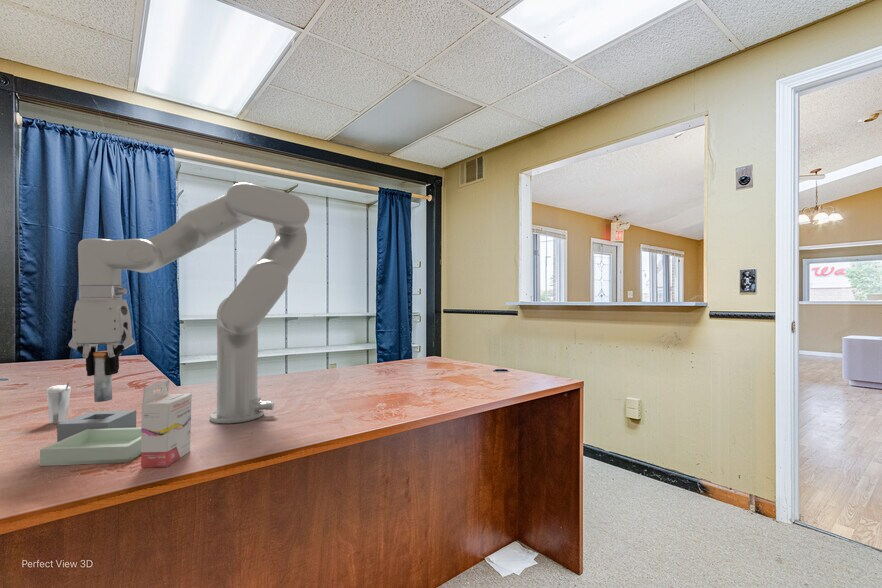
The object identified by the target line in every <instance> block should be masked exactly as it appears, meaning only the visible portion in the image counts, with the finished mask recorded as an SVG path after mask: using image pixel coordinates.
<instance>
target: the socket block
mask: <svg viewBox="0 0 882 588" xmlns="http://www.w3.org/2000/svg"><path fill="white" fill-rule="evenodd" d="M56 426H57V427H56V429H57V430H56V431H57V433H56V434H57V435H56V436H57V437H56V440H57V441H56V442H59V441H61V440H63V439H66V438H68V437H70V436H73V435H75V434H77V433H79V432H82V431H84V430H86V429H108V428H137V410H136V409H127V410H124V409H122V410H95V411H93V410H92V411H91V410H90V411H89V412H88V411H87V412H85V413H83V414H80V415H77V416H75V417H72V418H69V419H67V421H64V422H61V423H58V424H57V425H56Z"/></svg>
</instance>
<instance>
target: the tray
mask: <svg viewBox="0 0 882 588" xmlns="http://www.w3.org/2000/svg"><path fill="white" fill-rule="evenodd" d="M141 427H142V426H139V427H135V428H108V429H86V430H84V431H82V432H79V433H77V434H75V435H73V436H70V437H68V438H66V439H63V440H61V441H59V442H57V441H56V442H55V443H52V444H50V445H48V446H45V447H43V448H40V449H39V467H42V466H44V467H46V466H47V467H48V466H68V465H69V466H70V465H71V466H73V465H74V466H75V465H94V464H95V465H96V464H117V463H119V464H122V463H124V464H125V463H129V462H131V461H133V460H134V459H135V458H137V457H139V456H141Z"/></svg>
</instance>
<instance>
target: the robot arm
mask: <svg viewBox="0 0 882 588" xmlns="http://www.w3.org/2000/svg"><path fill="white" fill-rule="evenodd" d="M309 218H310V209H309V206H308V203H307V202H306V201H305V200H304V199H303V198H301V197H300V196H297V195H295V194H293V193H292V194H291V193H289V192H284V191H280V190H277V189H272V188H269V187H267V186H266V187H265V186H262V185H257V184H254V183H249V182H238V183H235V184H233V185H232V186H231V187H230V188H228V190H227V192H226V193H225V194H223V195H221V196H219V197H216V198H214V199H213V200H210V201H208V202H207V203H204V204H202V205H200V206H197V207H196V208H193V209H190V210H189V211H187V212H185V213H184V214H183V215H182V216H181V217H180V218H179V220H178V221H176V222H175V223H174V224H173V225H172V226H170V227H168V228H167V229H165V230H163V231H162V232H160V233H157V234H156V235H154V236H152V237H150V238H148V239H144V238H129V239H127V238H125V239H115V240H114V239H107V238H83V239H82V240H80V241H79V242H78V245H77V258H78V261H77V262H78V295H79V296H78V297H79V298H78V299H79V300H76V302H75V304H74V311H73V316H72V317H73V318H72V330H71V331H72V337H71V339H70V340H69V342H68V345H67V346H68V347H69V348H72V349H73V350H75V351H77V352H78V353H80V354H81V355H82V358H83V359H85V370H86V375H87V377H92V376H93V377H94V365H93V352H98V345H104V344H105V345H106V351H108V358H106V359H105V361H106V375H112V376H113V375H115V374H118V373H119V369H120V356H121V355H122V354H123V352H124V351H125V350H127V348H129V347H132V346H134V345H135V344H136V341H135V339H134V337H133V330H132V320H131V314H130V309H129V305H128V302H127V299H125V298H124V299H123V295H127V294H128V289H127V288H125V287H124V288H123V285H122V270H126V271H127V270H128V271H133V272H137V273H142V274H147V273H153V272H155V271H157V270H159V269H161V268H163V267H165V266H166V265H168V264H171V263H173V262H175V261H176V260H178V259H180V258H183V257H184V256H186V255H187V254H189V253H191V252H192V251H195V250H197V249H199V248H202V247H204V246H206V245H207V244H208V243H211V242H212V241H214V240H216V239H217V238H220V237H222V236H223V235H226V234H227V233H229V232H231V231H233V230H235V229H237V228H239V227H242V226H243V225H245V224H247V223H249V222H251V221H253V220H254V219H255V220H258V221H262V222H263V221H264V222H266V223H271V224H272V226H273V227H274V230H275V237H274V239H273V240H272V242H271V243H270V244H269V246H268V247H267V249H266V250H265V251H264V252H263V254H262V255H261V256H260V258H259V259H258V260H257V261H256V262H255V263H254V264H253V265H251V266H250V268H248V270H247V272H246V274H245V276H243V278H242V280H240V282H239V283H237V286H236V287H235V288H234V289H233V290H232V292H231V293H230V294H229V296H228V297H226V298H225V299H223V300H222V301H221V302H220V304H219V305H218V307H217V310H216V311H217V312H216V335H217V336H216V337H217V338H216V339H217V340H216V341H217V343H216V345H217V348H216V350H217V351H216V352H217V353H216V356H217V357H216V411H213V412H212V413H210V414H209V421H210V422H212V423H217V424H237V423H244V422H250V421H253V420H257V419H259V418H261V417H262V416H264V413H265V412H264V410H265V411H272V410H274V409H275V408H274V407H275V403H274V402H273V401H271V400H267V401H263V400H262V396H259V395H258V372H259V371H258V369H259V368H258V366H259V365H258V364H259V363H258V361H259V360H258V359H259V358H258V357H259V339H258V326H259V325H260V324H261V323H262V321H263V320H265V318H266V316H267V315H268V314H269V312H270V311H271V310H272V308H273V307H274V306H275V305H276V304H277V302H278V301H279V299H280V298H281V297H282V295H283V294H284V293H285V291H286V289H287V287H288V285H289V284H288V283H289V276H290V275H291V273H292V272H293V271H294V269H295V268H296V266H297V264H299V261H300V260H301V259H302V258H303V256H304V254H305V252H306V249H307V244H308V235H307V229H306V227H305V225H306V224H307V223H308V221H309V220H310V219H309Z"/></svg>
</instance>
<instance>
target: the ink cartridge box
mask: <svg viewBox="0 0 882 588" xmlns="http://www.w3.org/2000/svg"><path fill="white" fill-rule="evenodd" d="M169 387H170V379H165V380H161V381H159V382H155V383H152V384H149V385H147V386H145V387H143V388H144V389H143V394H142V403H141V426H140V427H141V454H140V467H141V468H167V467H169V466H171V465H172V464H174V463H175V462H176V461H178V460H180V459H181V458H182V457H183V456H185V455H187V454H188V453H190V451H191V440H192V439H191V437H192V436H191V435H192V396H193V393H169ZM157 388H158V389H160V390H159V391H156V392H154V391H155V390H156V389H157Z"/></svg>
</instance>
